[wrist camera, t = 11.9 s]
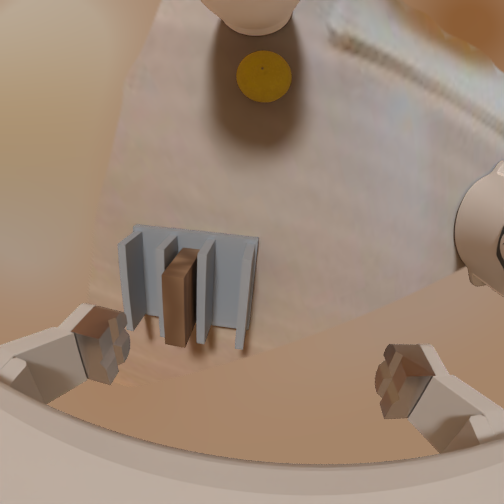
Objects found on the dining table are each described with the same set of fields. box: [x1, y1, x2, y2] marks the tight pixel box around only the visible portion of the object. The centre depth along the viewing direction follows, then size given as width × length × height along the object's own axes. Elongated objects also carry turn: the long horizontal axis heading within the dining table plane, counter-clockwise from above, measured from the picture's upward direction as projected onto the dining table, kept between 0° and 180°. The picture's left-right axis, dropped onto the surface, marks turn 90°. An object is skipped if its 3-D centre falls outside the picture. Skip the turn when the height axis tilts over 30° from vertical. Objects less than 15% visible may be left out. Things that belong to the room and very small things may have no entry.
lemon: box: [236, 50, 292, 102], centre depth 28 cm, size 6×6×8 cm
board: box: [161, 248, 200, 348], centre depth 36 cm, size 2×9×8 cm, turn 175°
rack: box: [118, 225, 259, 350], centre depth 38 cm, size 16×13×6 cm
